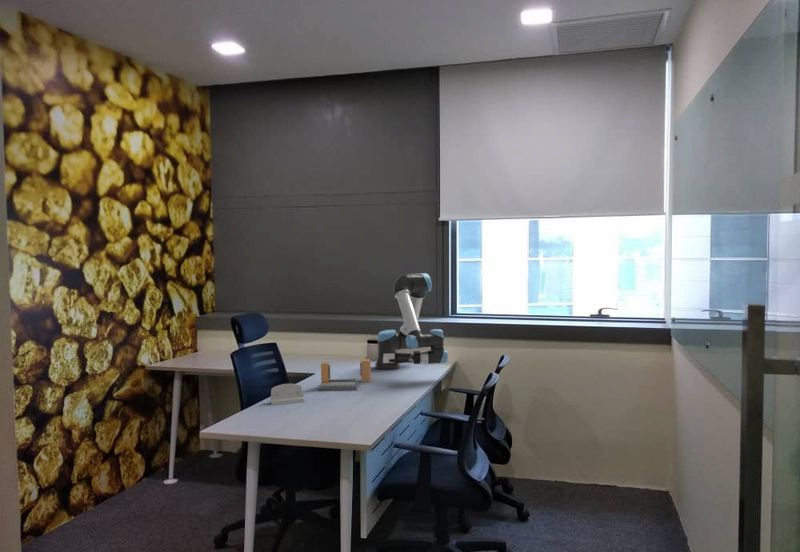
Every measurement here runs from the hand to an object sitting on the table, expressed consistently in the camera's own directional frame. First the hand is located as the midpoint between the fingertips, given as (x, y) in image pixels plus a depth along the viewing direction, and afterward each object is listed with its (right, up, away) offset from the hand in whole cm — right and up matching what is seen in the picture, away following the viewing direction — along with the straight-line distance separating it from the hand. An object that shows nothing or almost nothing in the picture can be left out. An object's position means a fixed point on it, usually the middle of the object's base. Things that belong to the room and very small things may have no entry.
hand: (383, 358), depth 326 cm
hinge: (-47, -16, -40) cm, 64 cm away
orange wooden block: (-10, -13, +1) cm, 16 cm away
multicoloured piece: (-24, -14, -13) cm, 31 cm away
